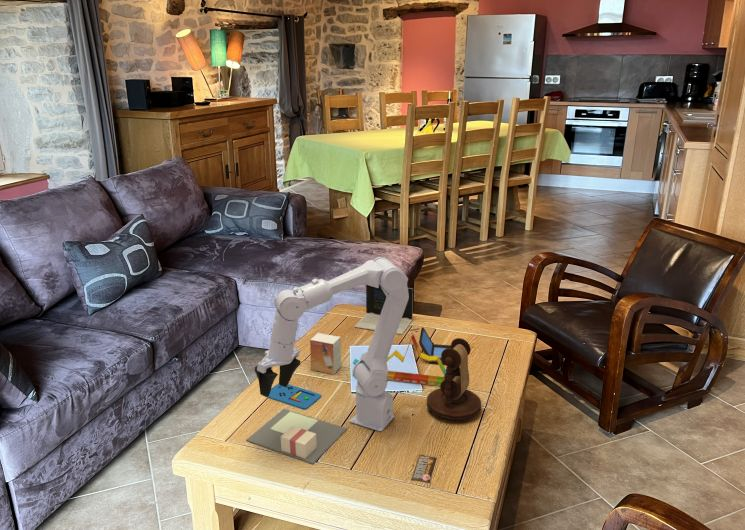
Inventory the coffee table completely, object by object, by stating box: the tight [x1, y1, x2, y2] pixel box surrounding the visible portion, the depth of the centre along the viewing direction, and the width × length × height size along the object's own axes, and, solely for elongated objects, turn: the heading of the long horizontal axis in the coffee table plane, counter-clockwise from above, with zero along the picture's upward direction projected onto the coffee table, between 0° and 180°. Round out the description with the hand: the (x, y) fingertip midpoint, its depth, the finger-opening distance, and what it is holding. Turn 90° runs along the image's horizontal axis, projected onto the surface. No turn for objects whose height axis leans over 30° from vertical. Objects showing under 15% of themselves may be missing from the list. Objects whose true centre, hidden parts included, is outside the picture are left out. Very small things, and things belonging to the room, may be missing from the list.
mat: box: [245, 408, 348, 465], centre depth 156 cm, size 20×16×1 cm
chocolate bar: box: [410, 454, 438, 484], centre depth 143 cm, size 11×5×1 cm, turn 164°
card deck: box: [281, 426, 317, 459], centre depth 149 cm, size 7×5×4 cm
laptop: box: [353, 284, 414, 335], centre depth 217 cm, size 18×12×13 cm
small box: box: [309, 332, 342, 375], centre depth 187 cm, size 8×6×10 cm
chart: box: [352, 334, 446, 388], centre depth 180 cm, size 30×3×15 cm, turn 76°
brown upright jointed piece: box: [426, 337, 482, 424], centre depth 164 cm, size 15×15×20 cm
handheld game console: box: [418, 327, 451, 366], centre depth 196 cm, size 12×11×7 cm
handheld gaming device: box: [267, 382, 322, 410], centre depth 174 cm, size 8×1×15 cm
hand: (273, 390), depth 150 cm, fingers open, 7 cm apart
